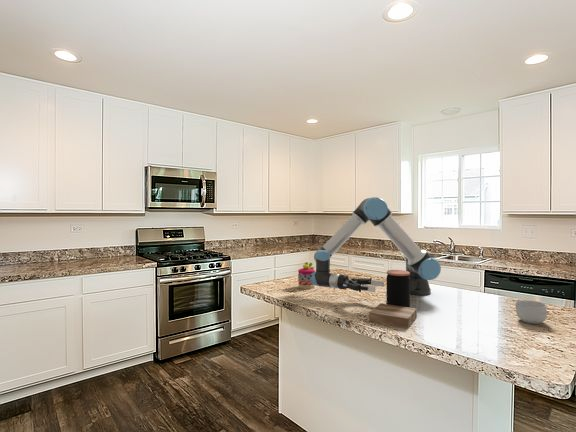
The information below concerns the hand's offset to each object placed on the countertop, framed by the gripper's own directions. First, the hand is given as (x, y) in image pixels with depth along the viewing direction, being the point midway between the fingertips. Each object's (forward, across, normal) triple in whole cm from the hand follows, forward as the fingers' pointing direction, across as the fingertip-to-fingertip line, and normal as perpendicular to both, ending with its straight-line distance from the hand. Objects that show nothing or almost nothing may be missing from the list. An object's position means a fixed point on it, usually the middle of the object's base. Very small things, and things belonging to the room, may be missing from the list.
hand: (379, 286), depth 164 cm
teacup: (+61, -14, -10) cm, 63 cm away
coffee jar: (+9, 0, -10) cm, 13 cm away
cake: (-51, -17, -10) cm, 54 cm away
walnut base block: (+11, +16, -10) cm, 22 cm away
